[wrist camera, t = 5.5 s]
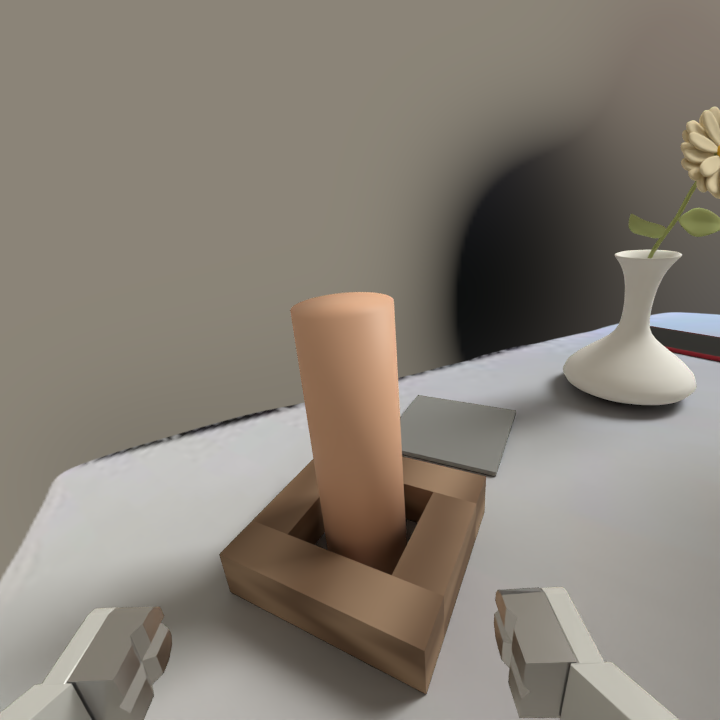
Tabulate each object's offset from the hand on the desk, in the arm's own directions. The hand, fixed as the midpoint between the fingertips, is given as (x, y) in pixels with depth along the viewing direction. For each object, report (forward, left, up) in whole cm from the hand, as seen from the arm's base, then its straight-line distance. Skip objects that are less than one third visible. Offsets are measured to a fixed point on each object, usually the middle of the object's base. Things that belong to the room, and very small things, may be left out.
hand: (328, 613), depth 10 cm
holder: (+5, -11, -11) cm, 17 cm away
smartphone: (-19, -55, -12) cm, 59 cm away
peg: (+5, -11, -11) cm, 17 cm away
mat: (+4, -26, -11) cm, 29 cm away
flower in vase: (-11, -40, -12) cm, 43 cm away
